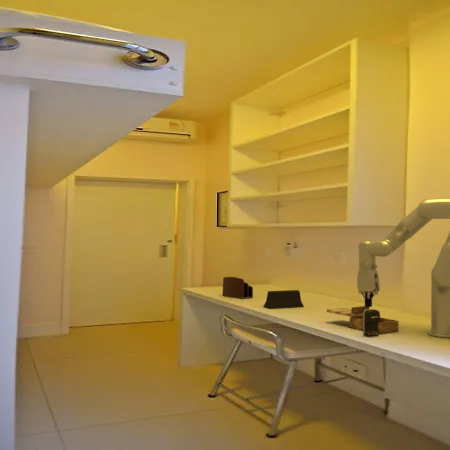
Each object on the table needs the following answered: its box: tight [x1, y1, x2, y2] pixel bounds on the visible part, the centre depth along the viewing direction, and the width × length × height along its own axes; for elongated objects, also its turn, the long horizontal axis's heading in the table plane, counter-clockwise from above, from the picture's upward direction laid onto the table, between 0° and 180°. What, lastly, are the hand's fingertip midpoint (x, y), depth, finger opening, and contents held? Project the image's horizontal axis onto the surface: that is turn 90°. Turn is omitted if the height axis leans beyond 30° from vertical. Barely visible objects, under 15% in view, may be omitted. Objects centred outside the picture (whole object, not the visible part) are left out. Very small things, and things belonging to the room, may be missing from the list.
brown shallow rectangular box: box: [349, 316, 400, 336], centre depth 226 cm, size 18×13×5 cm
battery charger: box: [362, 308, 381, 338], centre depth 212 cm, size 7×4×11 cm, turn 110°
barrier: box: [262, 289, 305, 310], centre depth 293 cm, size 24×9×10 cm, turn 115°
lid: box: [326, 305, 370, 318], centre depth 239 cm, size 17×13×4 cm
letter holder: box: [221, 276, 254, 300], centre depth 336 cm, size 10×20×14 cm, turn 44°
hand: (368, 306), depth 230 cm, fingers closed
